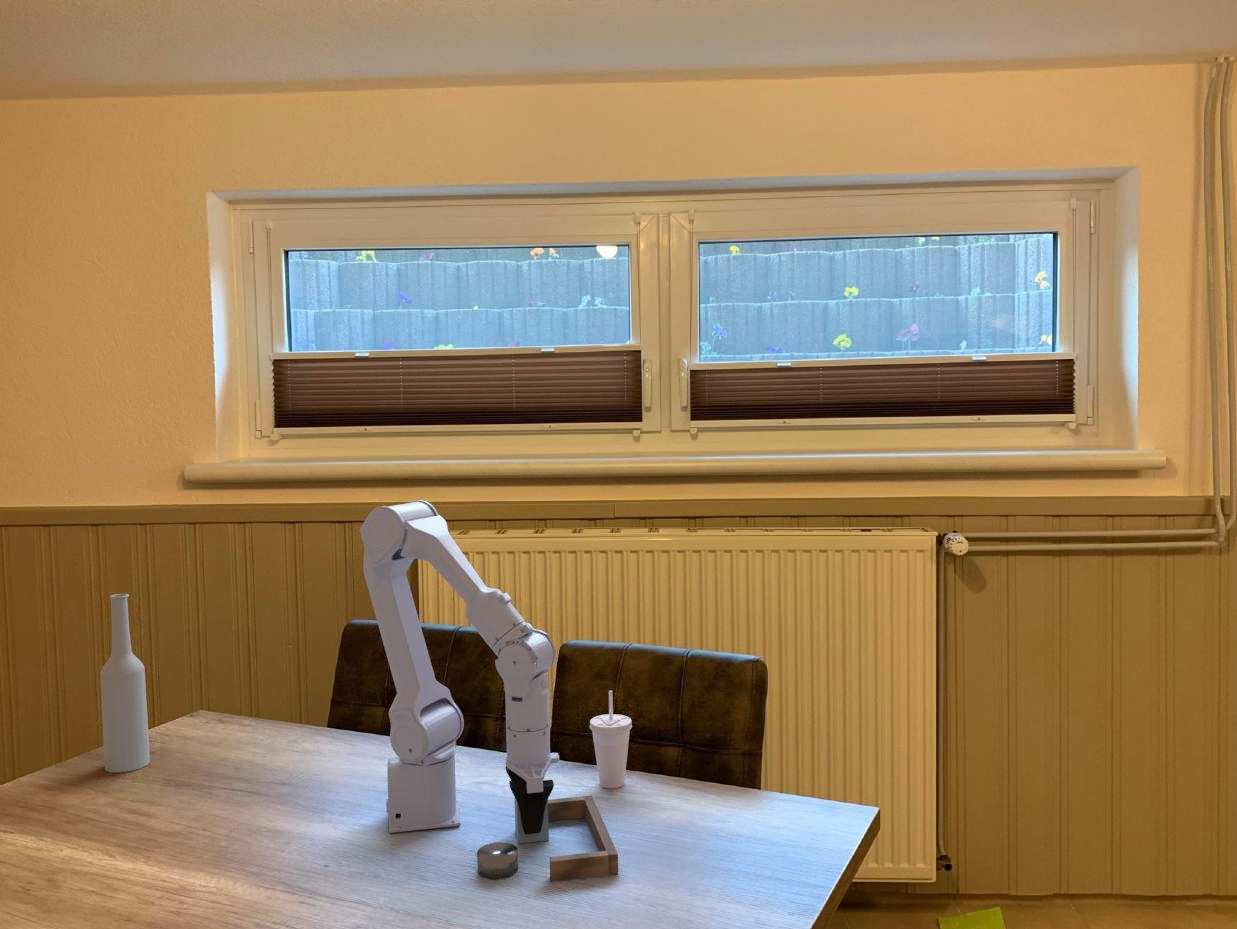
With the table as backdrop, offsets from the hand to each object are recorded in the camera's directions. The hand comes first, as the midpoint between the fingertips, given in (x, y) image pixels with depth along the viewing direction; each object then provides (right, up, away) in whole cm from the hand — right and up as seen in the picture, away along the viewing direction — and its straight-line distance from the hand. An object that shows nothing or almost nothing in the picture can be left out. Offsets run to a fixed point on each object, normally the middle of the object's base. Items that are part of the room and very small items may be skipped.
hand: (530, 825), depth 130 cm
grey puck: (-3, -2, -9) cm, 10 cm away
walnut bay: (+6, -2, -3) cm, 7 cm away
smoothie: (+11, 0, +18) cm, 21 cm away
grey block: (0, -1, 0) cm, 1 cm away
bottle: (-68, -1, +29) cm, 74 cm away
